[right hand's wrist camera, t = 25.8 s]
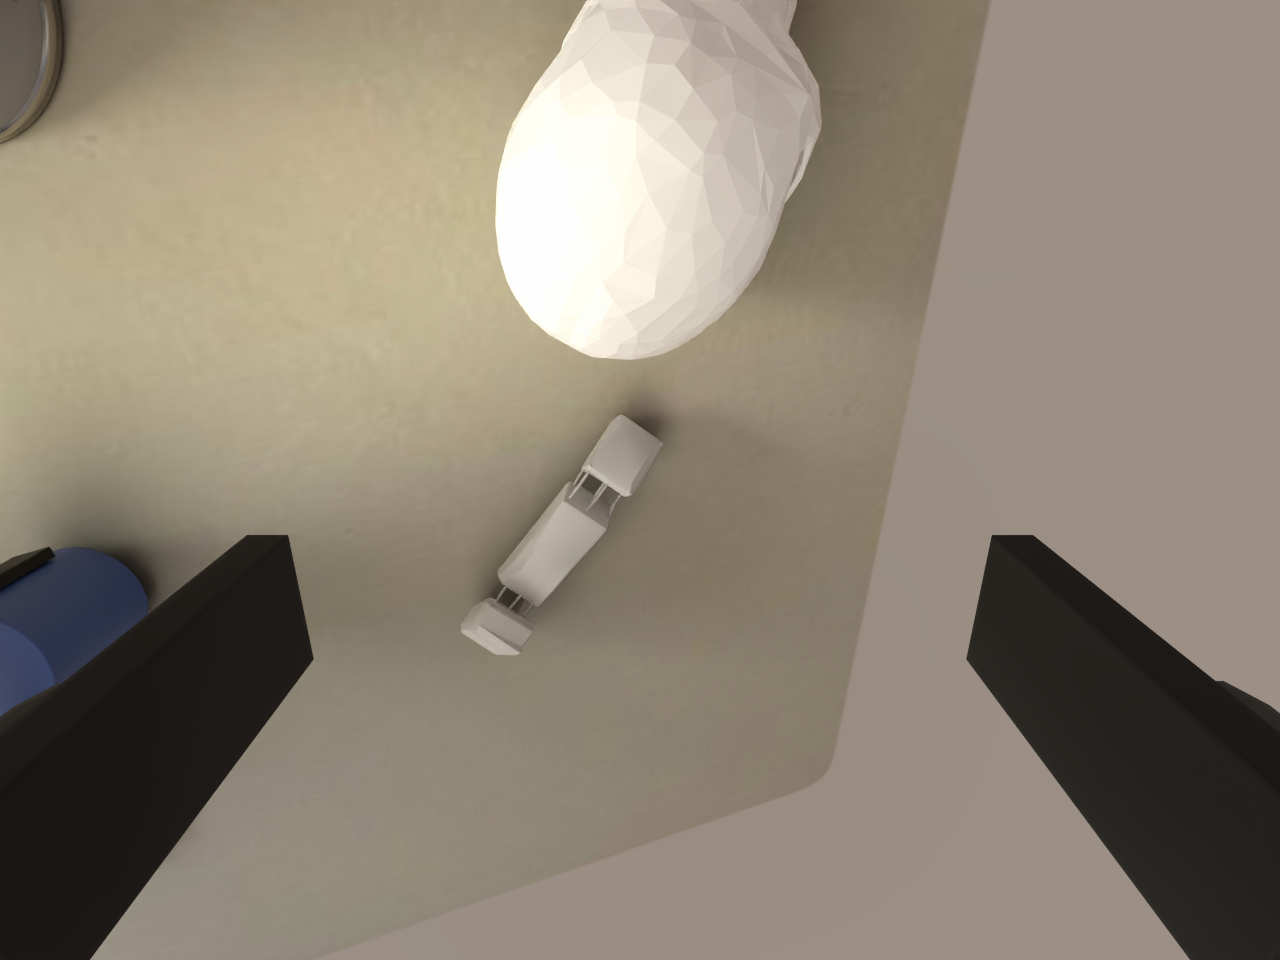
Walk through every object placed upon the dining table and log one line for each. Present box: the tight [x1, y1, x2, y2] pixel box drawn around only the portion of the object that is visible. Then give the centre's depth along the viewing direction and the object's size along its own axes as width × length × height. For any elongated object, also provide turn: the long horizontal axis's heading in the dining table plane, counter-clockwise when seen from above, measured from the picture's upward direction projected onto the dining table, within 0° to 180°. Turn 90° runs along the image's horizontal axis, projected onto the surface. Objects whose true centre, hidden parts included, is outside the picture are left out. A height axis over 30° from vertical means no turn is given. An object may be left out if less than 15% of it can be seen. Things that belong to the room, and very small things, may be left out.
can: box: [0, 547, 148, 716], centre depth 45 cm, size 8×8×9 cm
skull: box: [495, 0, 822, 360], centre depth 32 cm, size 13×22×16 cm, turn 155°
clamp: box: [461, 415, 663, 655], centre depth 46 cm, size 20×4×7 cm, turn 144°
